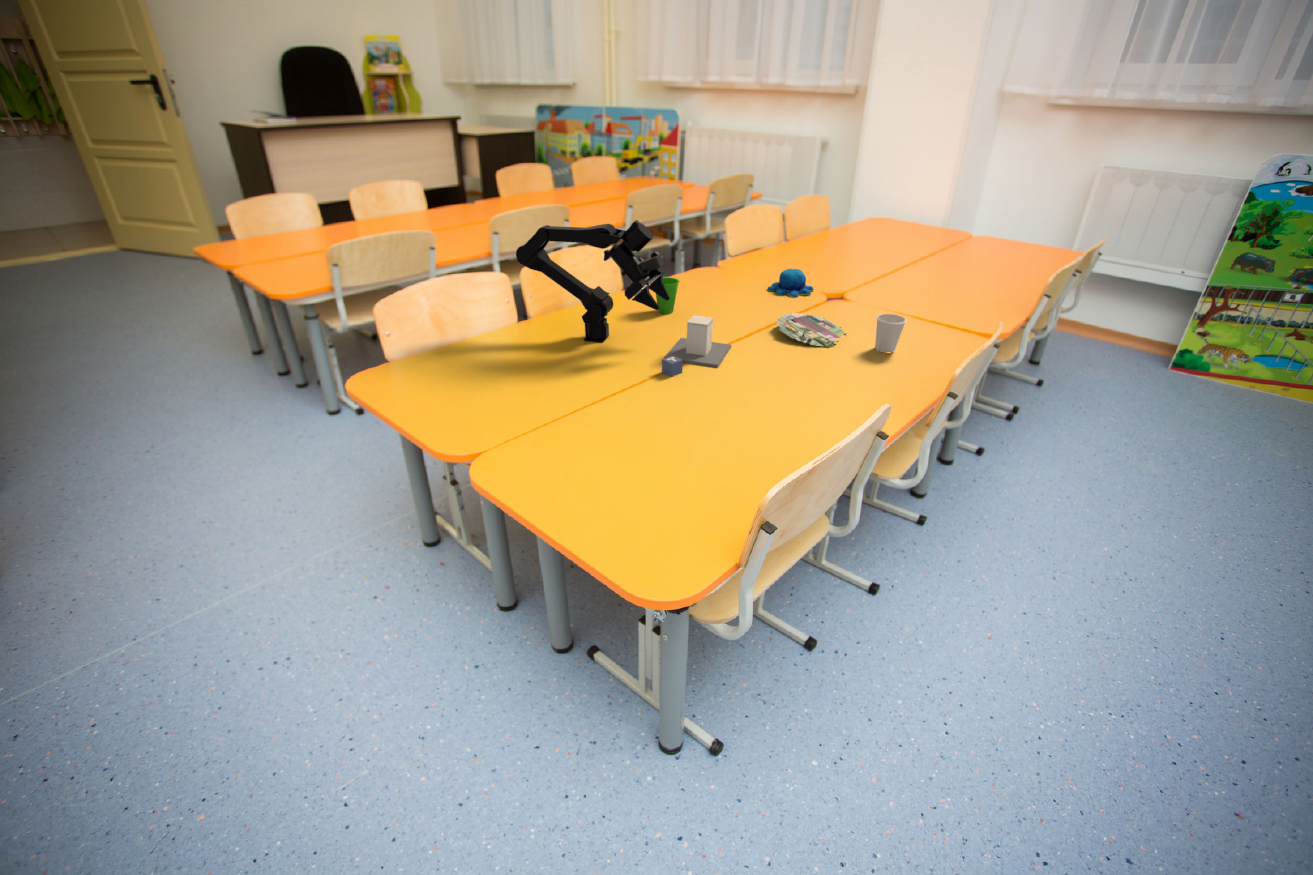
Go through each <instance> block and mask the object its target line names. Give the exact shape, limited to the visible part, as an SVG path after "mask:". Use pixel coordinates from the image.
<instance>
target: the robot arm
mask: <svg viewBox="0 0 1313 875" xmlns="http://www.w3.org/2000/svg"><path fill="white" fill-rule="evenodd" d="M653 239H654V235H653V232H652V231H651V229H650V228H649V227H648V226H646V225H645V224H644V223H642V222H640V221H639V220H638V219H636V220H634V221H633V222H632V223H631V225H630V226H629V227H628V228H627V229H626V230H624V229H619V228H616V227H615V226H614V225H613V224H612V223H611V224H610V223H603V224H597V225H593V226H588V227H579V226H578V227H577V226H575V227H574V226H555V225H553V226H552V225H549V224H546V225H543V226H541V227H539V228H538V229H537V231H536V232H535V233H534V235H532V237H530V238H529V239H528V241H526V242H525V243H524V244H522V245H520V246H518V247H517V249H516V251H515V256H516V261H517V262H518V263H519V264H520V265H521V266H523V267H525V268H528V269H529V270H532V271H537V272H540V273H542V274H543V275H544V276H546V277H547V278H548V279H550V280H552V281H553V282H554V283H555V284H557V285H558V286H559V287H561V288H562V289H563V290H565V291H567V292H568V293H570V294H571V295H572V296H574V297H575V298H576V299H578V300H579V301H580V302H581V304H582V306H583V308H584V309H585V310H586V311H585V313H584V314H583V315H582V316H581V319H582V321H583V323H584V338H583V341H586V342H587V341H588V342H596V343H604V342H605V341H606V340H607V339H608V338H609V337H610V324H609V323H608V318H607V317H606V316H608V315H609V313H610V312H611V311H612V310H613V307H614V300H613V298H612V296H611V295H610V294H611V293H610V292H607V291H606V290H604V289H603V288H602V287H601V286H599V285H597V286H596V287H595V288H592V287H590V286H588V285H586V284H585V283H584V282H582V281H581V280H579V278H577V277H576V276H574V275H573V274H572V273H571V272H569V271H567V270H566V269H565V268H563V267H562V266H560V265H559V264H558V263H556V262H555V261H554V260H552V259H551V258H550V256H549V254H548V253H547V251H546V250H545V248H546V247H547V245H549V243H550V242H557V243H559V242H560V243H576V244H577V243H580V244H586V245H588V246H590V247H594V248H598V249H601V250H603V249H605V250H603V261H604V262H607V261H608V260H610V259H612V261H614V263H615V264H616V265H617V266H618V267H619V269H620V270H621V271H622V272H621V273H620V274H621V275H622V276H623V277H625V276H626V277H627V278H628V279H629V280H630V282H631V283H630V285H629V286H628V287H627V288H626V289H625V290H624V296H625V298H626V299H627V300H628V301H630V300H631V301H633V302H634V301H635V302H637V303H639V304H641V305H644V306H646V307H648V308H650V309H653V310H655V311H658V309H659V306H658V304H657V300H655V299H654V297H653V295H652V294H651V292H650V290H651V291H652V292H653V293H655V295H656V294H658V295H659V296H660V297H662V298H663V299H665V300H667V301H668V300H669V299H670V297H669V295H668V293H667V290H666V288H665V286H664V283H663V277H664V276H665V273H664V271H665V269H664V268H663V267H662V266H664V265H665V262H664V259H665V258H664V255H663V254H662V253H660V252H659V251H657V250H656V251H653V252H651V253H650V257H648V258H647V259H645V260H644V258H643V257H641V256H639V257H638V256H637V255H636V254H635V253H634V252H637V253H640V252H641V251H642V250H643V249H644V248H645V247H646V246H647V245H648V244H649V243H650V242H651V241H652V240H653ZM620 241H622V242H621V243H619V242H620ZM618 243H619V244H618ZM612 245H613V246H612ZM610 246H612V247H611V248H609V247H610ZM607 248H609V249H607Z"/></svg>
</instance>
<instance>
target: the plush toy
mask: <svg viewBox="0 0 1313 875" xmlns="http://www.w3.org/2000/svg"><path fill="white" fill-rule="evenodd" d="M766 290H767V291H768V292H771V293H772V292H775V295H777V296H778V297H779V296H780V297H782V296H785V295H788V297H789V298H793V299H796V298H798V297H799V295H800V296H811V292H813V291H814V287H813V286H812V285H807V278H806V275H805V272H803V271H802V270H801V269H799V268H787V269H784V270H783V271H781V273H780V274H779V279H778V281H775V282H774V283H772V284H771V285H770V286H768V287H767V289H766Z"/></svg>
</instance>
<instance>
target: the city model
mask: <svg viewBox="0 0 1313 875" xmlns="http://www.w3.org/2000/svg"><path fill="white" fill-rule="evenodd" d="M775 322H776V323H777V325H778V326H779V327H778V328H779V329H778V331H780V332H782V333H783V334H785V335H786V336H788V337H789V338H791V339H795V340H796V341H798V342H802V343H803V344H809V345H810V346H816V347H817V346H820V347H824V348H825V347H827V348H831V347H830V346H832V347H833V346H836V345H837V343H836V340H835V339H836V338H841V337H842V335H843V334H846V335H847V333H846V332H845V331H844V329H843V328H842V327H841V326H839V325H837V324H835V323H833V322H832V321H830V320H829V319H827V318H825V317H821V316H818V315H813V314H809V313H797V312H794V313H792V312H791V313H786V314H783V315H781V316H779V317H778V318H777V319H776V320H775ZM841 334H842V335H841ZM835 343H836V344H835ZM834 344H835V345H834Z"/></svg>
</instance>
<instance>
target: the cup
mask: <svg viewBox="0 0 1313 875" xmlns="http://www.w3.org/2000/svg"><path fill="white" fill-rule="evenodd" d="M663 283H664V286H665V288H666V290H667V293H668V295H669V297H670V299H669V300H668V301H667V300H665V299H663V298H662V297H660V296H659V295H658V294H656V293H655V299H656V303H657V304H658V306H659V309H658V310H657V311H658V313H659V314H661V313H662V315H670V313H671V314H672V313H673V312H674V309H675V304H676V303H675V302H676V298H677V292H678V287H679V283H680V280H679V278H676V277H672V276H663Z"/></svg>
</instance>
